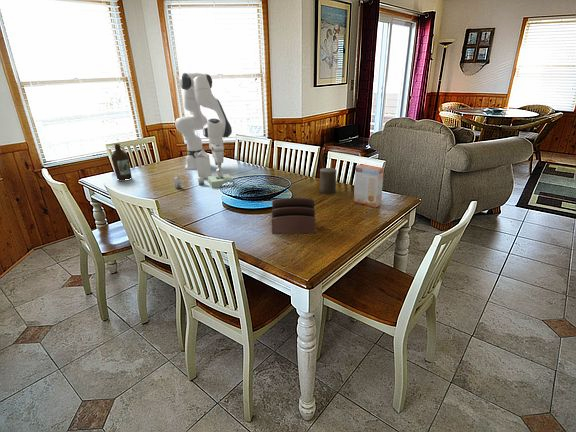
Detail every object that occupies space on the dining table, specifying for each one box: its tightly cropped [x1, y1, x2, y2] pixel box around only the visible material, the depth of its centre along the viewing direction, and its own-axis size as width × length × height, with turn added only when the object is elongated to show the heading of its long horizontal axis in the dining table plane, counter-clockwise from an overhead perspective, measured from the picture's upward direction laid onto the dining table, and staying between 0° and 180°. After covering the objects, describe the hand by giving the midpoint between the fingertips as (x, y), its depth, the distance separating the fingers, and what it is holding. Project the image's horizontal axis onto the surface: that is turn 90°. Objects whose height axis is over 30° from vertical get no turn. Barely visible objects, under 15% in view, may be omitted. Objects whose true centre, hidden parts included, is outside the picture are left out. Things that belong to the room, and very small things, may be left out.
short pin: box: [197, 177, 205, 187], centre depth 224 cm, size 4×4×5 cm
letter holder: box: [271, 197, 317, 235], centre depth 157 cm, size 10×20×14 cm, turn 89°
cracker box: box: [353, 163, 385, 209], centre depth 183 cm, size 14×6×21 cm, turn 45°
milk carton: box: [196, 148, 212, 179], centre depth 237 cm, size 7×7×19 cm
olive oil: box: [111, 142, 133, 180], centre depth 235 cm, size 11×11×25 cm
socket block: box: [207, 173, 234, 189], centre depth 225 cm, size 14×14×4 cm
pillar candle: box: [319, 167, 337, 195], centre depth 204 cm, size 10×10×15 cm
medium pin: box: [173, 176, 182, 190], centre depth 218 cm, size 4×4×7 cm
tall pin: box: [216, 167, 224, 179], centre depth 224 cm, size 4×4×10 cm
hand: (218, 166), depth 222 cm, fingers open, 8 cm apart
